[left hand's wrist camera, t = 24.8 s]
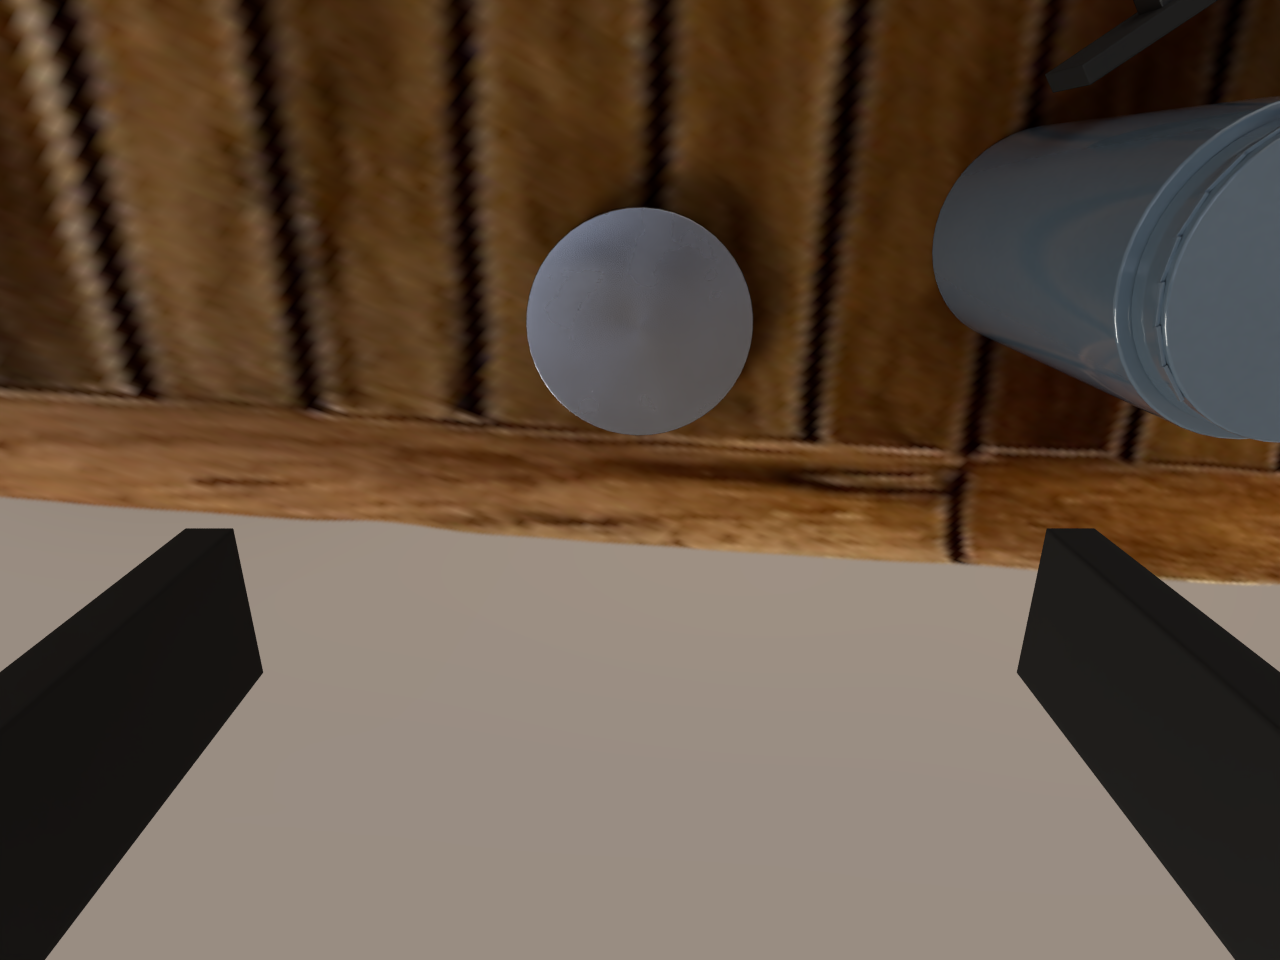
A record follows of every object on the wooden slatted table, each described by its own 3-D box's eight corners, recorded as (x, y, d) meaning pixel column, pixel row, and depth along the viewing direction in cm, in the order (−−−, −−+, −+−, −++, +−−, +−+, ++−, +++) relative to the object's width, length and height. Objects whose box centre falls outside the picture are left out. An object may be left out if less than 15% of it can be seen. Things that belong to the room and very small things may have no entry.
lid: (493, 354, 39) (486, 363, 37) (602, 159, 36) (600, 158, 34) (672, 460, 41) (673, 473, 39) (791, 284, 38) (798, 290, 36)
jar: (1087, 75, 35) (1470, -12, 19) (1177, 259, 38) (1576, 321, 22) (893, 217, 37) (1087, 248, 21) (992, 381, 40) (1230, 519, 24)
